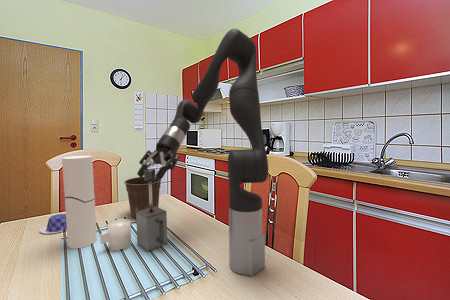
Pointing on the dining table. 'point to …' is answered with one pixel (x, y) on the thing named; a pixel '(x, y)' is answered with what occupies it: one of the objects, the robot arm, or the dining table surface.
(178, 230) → the dining table surface
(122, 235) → the mug
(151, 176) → the plunger
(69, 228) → the container
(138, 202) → the plant pot
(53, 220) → the purple hat
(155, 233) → the box with side grip
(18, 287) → the dining table surface
